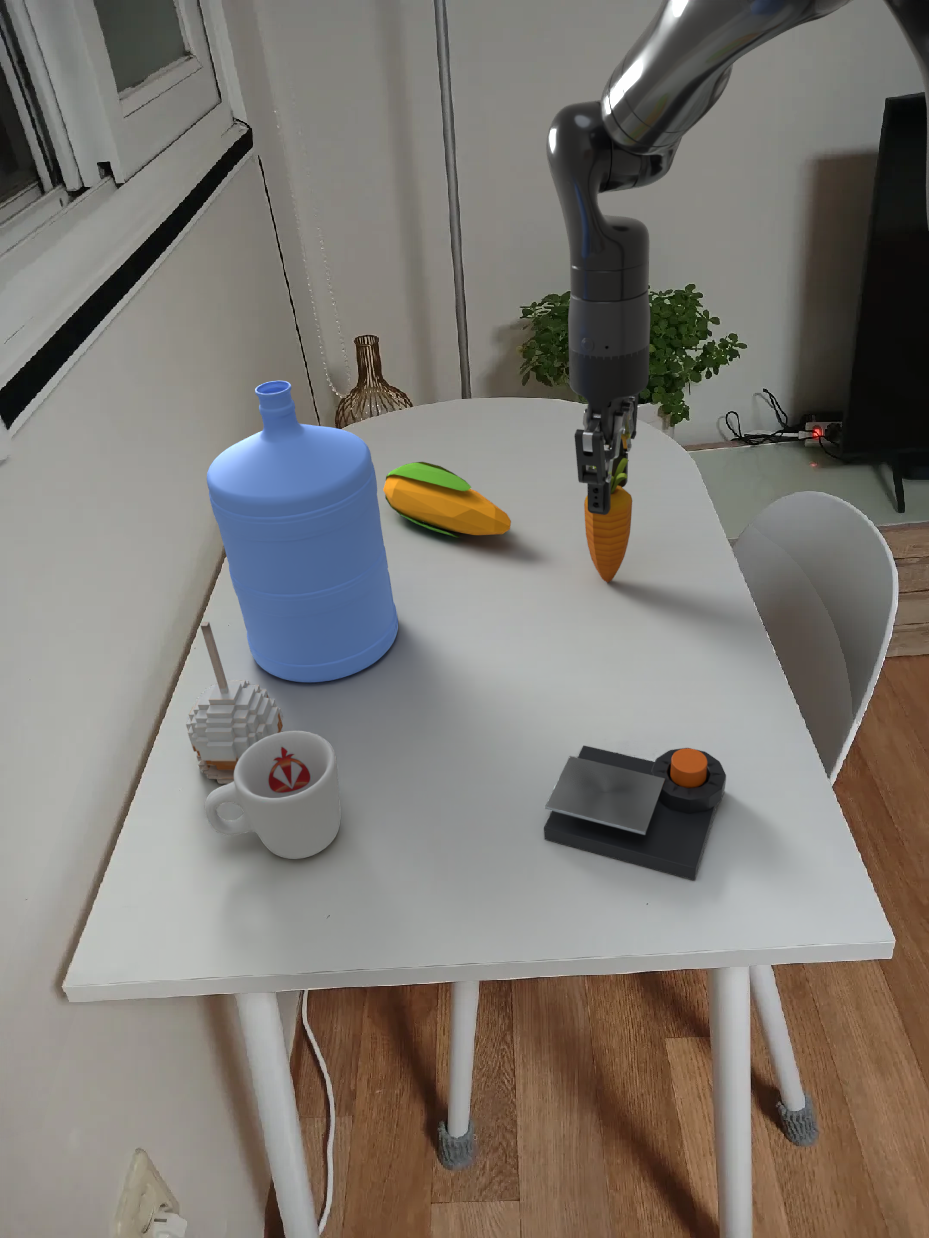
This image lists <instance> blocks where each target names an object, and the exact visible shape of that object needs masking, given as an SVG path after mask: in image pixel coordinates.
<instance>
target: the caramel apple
mask: <svg viewBox="0 0 929 1238" xmlns="http://www.w3.org/2000/svg"><path fill="white" fill-rule="evenodd" d="M200 629H201V632H202V636H203V640H204V642H205V646H206V649H207V652H208V656H209V659H210V663H211V665H212V669H213V672H214V676H215V678H216V683H215V684H211V685H210V686H209V687H205V689H204V691H203V692H200V695H199V697H196V698H195V701H194V703H193V704H192V706H191V709H190V711H189V713H188V718H187V720H186V723H185V727H186V729H187V735H188V738H189V741H190V744H191V748H192V750H193V752H196V754H197V755H196V759H197V761H198V762H199V763H198V768H199V770H201V771H202V773H203V775H206V777H207V779H209V780H216V781H217V784H229V783H231V782H233V781H234V770H235V766H236V764H237V762H238V760H239V759H240V757H241V756H242V754H243V753H244V752H245V751H246V750H247V749H248V748H249V747H251V746H252V745H253V744H254V743H256V742H258V741H259V740H261V739H263V738H265V737H268V736H270V735H273V734H276V733H280V732H284V731H282V730H283V727H284V726H283V725H284V724H283V722H282V721H283V719H284V714H283V711H282V708H281V707H279V706H278V704H277V701H276V699H275V698H270V697H269V694H268V690H267V689H261V687H260V684H250V680H246V679H227V678H226V675H225V671H224V668H223V665H222V661H221V657H220V655H219V651H218V648H217V643H216V640H215V637H214V634H213V629H212V626H211V624H210V621H202V622H201V624H200Z"/></svg>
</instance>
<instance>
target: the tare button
mask: <svg viewBox="0 0 929 1238" xmlns="http://www.w3.org/2000/svg"><path fill="white" fill-rule="evenodd" d="M685 748H686V749H681V748H680V749H681V750H678V751H676V752H675V753H674V754H673V756H672V758H671V774H670V775H671V778H672V780H673V781H674V782H675V783H676V784H677V785H679V786H681V787H685V788H696V787H699V786H701V785H702V784H703V783H704V782H705V780H706V773H707V758H706V757H705V755H704V754H703V753H701V752H700V751H701V750H700V751H698V750H699V749H696V750H695V748H691V749H689V748H690V747H685Z"/></svg>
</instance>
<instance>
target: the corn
mask: <svg viewBox="0 0 929 1238" xmlns="http://www.w3.org/2000/svg"><path fill="white" fill-rule="evenodd" d="M382 491H383V493H384V494H385V495H384V497H385V498H384V499H385V500H386V502H387V504H388V505H389V507H390V508H391V509H392V510H394V511H395V512H396V513H398V514H399V516H401V517H403V518H405V519H407V520H409V522H412V523H414V524H416V525H419V526H421V527H424V528H426V529H428V530H430V531H433V532H437V533H441V534H444V535H447V536H451V537H455V538H460V535H458V534H454V533H450V532H455V533H461V534H466V535H471V536H488V535H490V536H491V535H494V536H495V535H503V534H505V533H506V532H508V531H510V530H511V525H512V520H511V519H510V517H509V515H508V513H507V512H506V511H504V510H502V509H501V508H500V507H499V506H498V505H496V504H494V503H493V502H492V501H491V500H489V499H488V498H487V497H485V496H484V495H482V494H481V493H480V492H478V491H477V490H474V489H472V485H470V484H469V482H467V481H466V479H463V478H462V477H461V476H458V474H456V473H454V472H453V471H450V470H448V469H447V468H445V467H443V466H441V465H438V464H433V463H429V462H425V461H416V462H411V463H405V464H403V465H401V466H399V467H396V468H394V469H392V470H391V471H390V472H389V473H387V475H385V482H384V487H383V489H382ZM443 529H444V530H443ZM445 530H446V531H445ZM447 531H450V532H447Z"/></svg>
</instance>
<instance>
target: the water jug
mask: <svg viewBox="0 0 929 1238" xmlns="http://www.w3.org/2000/svg"><path fill="white" fill-rule="evenodd" d="M291 391H292V385H291V383H290V382H288V381H286V380H272V381H271V380H270V381H267V382H264V383H262V384H260V385H258V386H256V387H255V389H254V392H255V395H256V397H258V401H259V405H258V409H259V410H258V411H259V414H260V416H261V420H262V424H263V428H262V430H261V431H259V432H256V433H254V434H253V435H251V436H249V437H248V436H247V438H243V440H240V441H238V442H236V443H234V444H233V445H231V446H229V447H227V448H226V449H225V450H224V451H222V452H221V453H220V454H219V455H218V456H216V457H215V459H213V461H212V462H211V464H210V465H209V467H208V468H207V469H208V470H207V473H206V484H207V488H208V496H209V502H210V506H211V509H212V514H213V516H214V519H215V521H216V523H217V526H218V529H219V532H220V533H219V534H220V536H221V541H222V544H223V547H224V553H225V556H226V560H227V563H228V571H229V577H230V580H231V584H232V588H233V590H234V593H235V595H236V597H237V600H238V604H239V608H240V612H241V615H242V618H243V621H244V626H245V629H246V630H245V631H246V639H247V643H248V647H249V650H250V654H251V656H252V658H253V660H254V662H255V663H256V664H257V665H258V666H259V667H260V668H261V669H263V670H264V671H265V672H267V673H268V674H270V675H272V676H274V677H277V678H280V679H282V680H287V681H290V682H297V683H322V682H328V681H335V680H339V679H342V678H346V677H349V676H352V675H354V674H356V673H357V674H358V673H359V672H361V671H363V670H365V669H367V668H369V667H370V666H372V665H373V664H374V663H377V662H378V661H379V660H380V659H381V658H383V656H384V655H385V654H387V652H388V651H389V650H390V648H391V647H392V645H393V644H394V642H395V640H396V637H397V634H398V630H399V619H398V612H397V607H396V603H395V601H394V596H393V589H392V588H393V587H392V583H391V577H390V576H391V575H390V572H389V563H388V558H387V552H386V550H387V549H386V546H385V542H384V537H383V529H382V522H381V513H380V505H379V504H380V503H379V499H378V482H377V476H376V475H377V474H376V470H375V465H374V463H373V460H372V453H371V450H370V447H369V445H367V443H366V442H365V441H364V440H363V439H362V438H361V437H360V436H358V435H356V434H354V433H353V432H350V431H348V430H344V429H341V428H337V427H331V426H321V425H314V424H312V425H311V424H305V423H300V422H299V421H298V418H297V414H296V405H295V401H294V400H293V398H292V394H291Z"/></svg>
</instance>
